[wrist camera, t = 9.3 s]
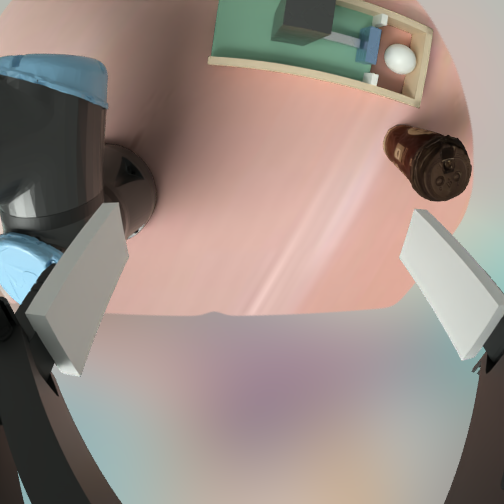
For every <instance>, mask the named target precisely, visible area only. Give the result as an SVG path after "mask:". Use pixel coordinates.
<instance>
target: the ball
mask: <svg viewBox="0 0 504 504" xmlns="http://www.w3.org/2000/svg"><path fill="white" fill-rule="evenodd" d="M384 60H385V63H386V65H387V66H388V68H389V69H390V70H392V71H393V72H395V73H397V74H408V73H410V72H412V71H413V70H414V68H415V66H416V57H415V54H414V53H413V51H412V50H411V49H410V48H409V47H407V46H405V45H403V44H393V45H391V46H389V47H388V48H387V49H386V51H385V54H384Z"/></svg>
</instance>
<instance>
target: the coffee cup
mask: <svg viewBox="0 0 504 504" xmlns="http://www.w3.org/2000/svg"><path fill="white" fill-rule="evenodd" d="M383 149H384V152H385V154H386V155H387V157H388V158H389V160H390V161H391V162H393V163H394V165H395V166H396V167H397V168H398V169H399V170H400V171H401V172H402V173H403V174H404V175H405V176H406V177H407V178H408V179H409V180H410V182H411V184H412V187H413V189H414V190H415V191H416V192H417V193H418V194H419V195H420V196H421V197H423V198H425V199H428V200H430V201H447V200H449V199H452V198H454V197H456V196H458V195H459V194H461V193H462V192H463V191H464V190H465V189H466V186H467V185H468V183H469V179H470V176H471V170H472V166H471V164H470V159H469V158H468V154H467V151H466V150H465V147H464V145H463V144H462V142H461V141H460V140H459V139H458V138H455V137H451V136H449V135H447V136H443V135H441V134H439V133H435V132H432V131H428V130H424V129H421V128H413V127H411V126H406V125H398V126H395V127H393V128H391V129H389V130H388V132H387V135H386V136H385V138H384V142H383Z"/></svg>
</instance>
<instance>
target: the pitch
mask: <svg viewBox="0 0 504 504" xmlns="http://www.w3.org/2000/svg"><path fill="white" fill-rule="evenodd" d="M280 1H281V0H219V4H218V11H217V17H216V24H215V31H214V38H213V45H212V53H211V56H208V64H209V65H218V66H230V67H241V68H250V69H258V70H266V71H273V72H279V73H286V74H292V75H297V76H303V77H308V78H313V79H318V80H322V81H327V82H331V83H335V84H340V85H344V86H348V87H351V88H355V89H359V90H362V91H366V92H370V93H373V94H376V95H380V96H383V97H386V98H389V99H392V100H395V101H398V102H401V103H404V104H407V105H410V106H413V107H417V108H420V103H421V98H422V94H423V89H424V84H425V79H426V73H427V68H428V62H429V56H430V49H431V42H432V35H433V29H431V28H429V27H427V26H425V25H423V24H421V23H418V22H416V21H414V20H412V19H409V18H407V17H405V16H402V15H400V14H398V13H395V12H393V11H390V10H387V9H385V8H382V7H379V6H377V5H374V4H371V3H368V2H365V1H362V0H336V5H335V12H334V19H333V25H332V32H336V33H340V34H344V35H347V36H351V37H354V38H358V39H359V34H360V29H362V28H366V27H369V26H372V27H375V28H378V27H382V26H387V24H388V25H390V26H393V27H396V28H398V29H401V30H403V31H405V32H408V33H410V34H412V38H411V44H410V49H411V50H412V51H413V53H414V54H415V57H416V66H415V68H414V70H413V71H412V72H410V73H408V74H405V79H404V84H403V89H402V94H399V93H396V92H393V91H390V90H387V89H384V88H381V87H378V86H377V81H378V76H379V75H377V74H374V73H370V69H371V65H365V64H362V63H358V62H355V59H356V53H357V48H353V47H349V46H346V45H342V44H338V43H334V42H330V41H326V40H322V39H319V40H316V41H314V42H312V43H309V44H307V45H305V46H299V45H294V44H288V43H283V42H276V41H270V40H271V34H272V27H273V21H274V14H275V11H276V9H277V7H278V5H279V3H280Z"/></svg>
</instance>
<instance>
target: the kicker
mask: <svg viewBox="0 0 504 504" xmlns="http://www.w3.org/2000/svg"><path fill="white" fill-rule="evenodd" d="M335 5H336V0H281V1H280V3H279V5H278V7H277V9H276V11H275V14H274V21H273V27H272V34H271V40H270V41H276V42H283V43H288V44H294V45H299V46H305V45H307V44H309V43H312V42H314V41H316V40H319V39H322V40H326V41H330V42H334V43H338V44H342V45H346V46H349V47H353V48H357V53H356V59H355V62H358V63H362V64H365V65H376V61H377V55H378V49H379V43H380V37H381V29H378V28H375V27H372V26H369V27H366V28H362V29H360V34H359V39H358V38H354V37H351V36H347V35H344V34H340V33H336V32H332V25H333V19H334V12H335Z"/></svg>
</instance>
